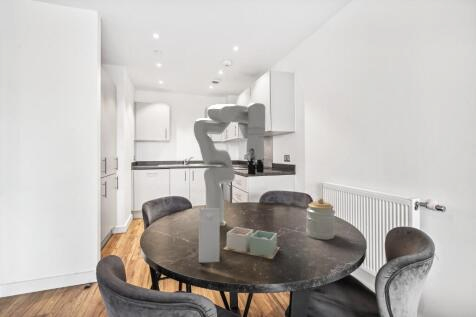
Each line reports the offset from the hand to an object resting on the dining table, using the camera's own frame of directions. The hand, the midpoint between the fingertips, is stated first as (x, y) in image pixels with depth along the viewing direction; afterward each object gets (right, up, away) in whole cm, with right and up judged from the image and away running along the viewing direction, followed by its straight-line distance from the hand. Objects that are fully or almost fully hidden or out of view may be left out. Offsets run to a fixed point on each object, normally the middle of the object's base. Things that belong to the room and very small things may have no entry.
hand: (256, 173), depth 96 cm
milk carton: (-18, -31, -15) cm, 38 cm away
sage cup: (+2, -29, -8) cm, 31 cm away
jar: (+32, -31, +12) cm, 46 cm away
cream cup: (-7, -29, -4) cm, 30 cm away
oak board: (-2, -30, -6) cm, 31 cm away
